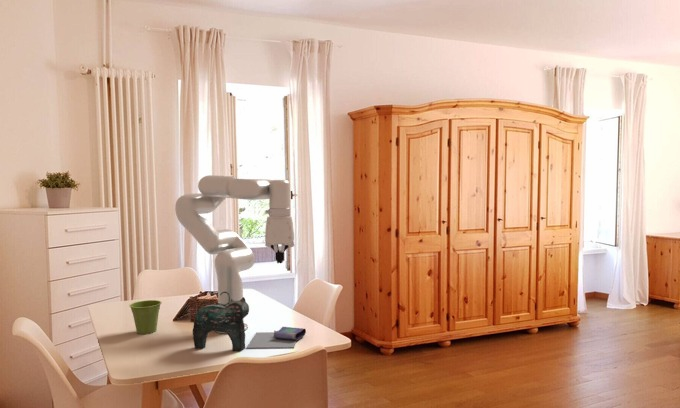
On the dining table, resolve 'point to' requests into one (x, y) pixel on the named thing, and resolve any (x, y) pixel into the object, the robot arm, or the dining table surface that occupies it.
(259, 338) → the mat
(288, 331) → the flask
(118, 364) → the dining table surface
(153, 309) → the plant pot
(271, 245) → the robot arm
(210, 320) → the ceramic cat
